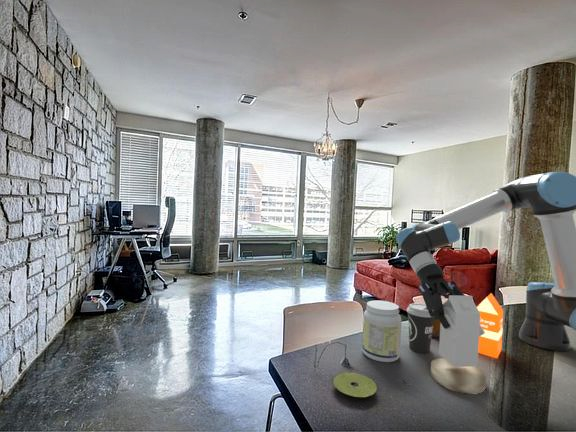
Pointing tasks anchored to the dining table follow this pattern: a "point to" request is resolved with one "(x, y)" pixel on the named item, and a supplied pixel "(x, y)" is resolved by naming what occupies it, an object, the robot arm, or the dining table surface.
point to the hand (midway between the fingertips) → (469, 337)
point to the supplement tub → (382, 331)
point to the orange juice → (490, 327)
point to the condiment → (436, 329)
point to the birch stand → (458, 377)
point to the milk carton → (461, 332)
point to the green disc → (355, 384)
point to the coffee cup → (419, 327)
